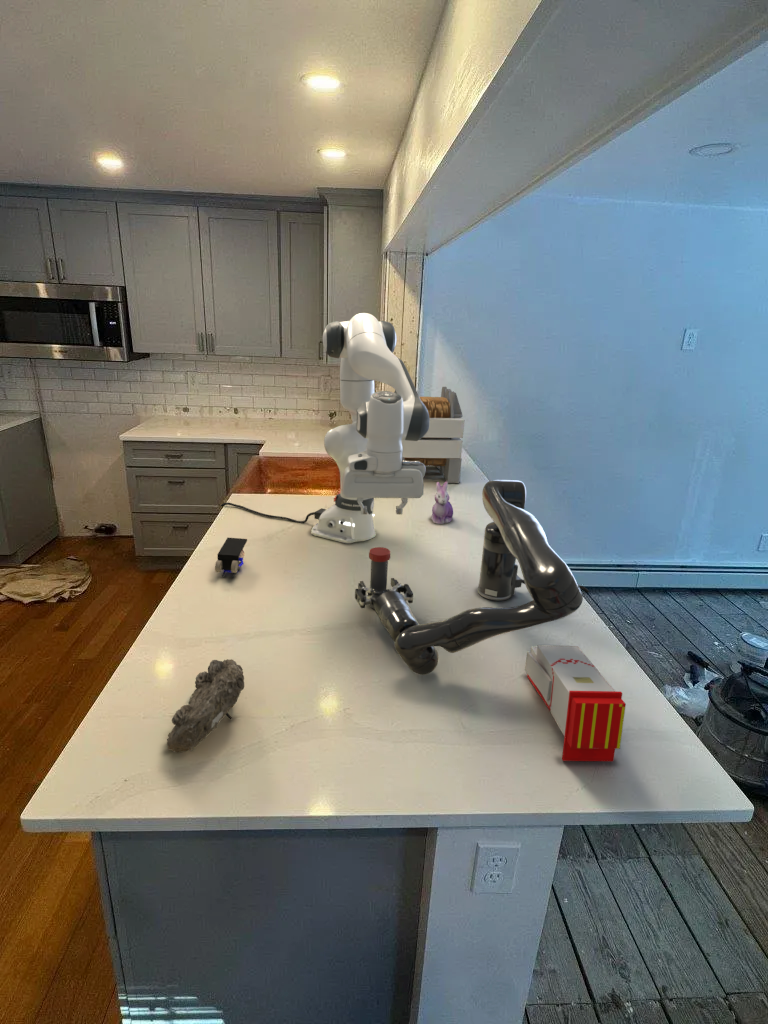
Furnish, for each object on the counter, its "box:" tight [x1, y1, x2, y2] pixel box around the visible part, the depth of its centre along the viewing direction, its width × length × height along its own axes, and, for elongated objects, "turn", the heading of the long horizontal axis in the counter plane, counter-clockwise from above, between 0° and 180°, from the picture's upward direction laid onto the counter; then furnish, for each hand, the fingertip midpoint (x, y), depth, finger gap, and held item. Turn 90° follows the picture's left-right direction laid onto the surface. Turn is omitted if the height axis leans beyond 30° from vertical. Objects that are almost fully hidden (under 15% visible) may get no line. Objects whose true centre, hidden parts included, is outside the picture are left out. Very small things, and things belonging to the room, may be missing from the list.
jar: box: [369, 559, 389, 610], centre depth 149 cm, size 4×4×15 cm
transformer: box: [394, 386, 465, 484], centre depth 268 cm, size 34×33×41 cm
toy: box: [524, 644, 626, 762], centre depth 112 cm, size 12×13×30 cm
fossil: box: [166, 658, 245, 754], centre depth 106 cm, size 22×10×15 cm
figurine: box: [430, 480, 454, 525], centre depth 212 cm, size 9×10×15 cm
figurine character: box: [214, 537, 248, 578], centre depth 166 cm, size 7×8×15 cm
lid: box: [368, 546, 391, 562], centre depth 146 cm, size 6×6×2 cm
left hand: (381, 513), depth 142 cm, fingers open, 7 cm apart
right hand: (376, 582), depth 151 cm, fingers open, 8 cm apart
